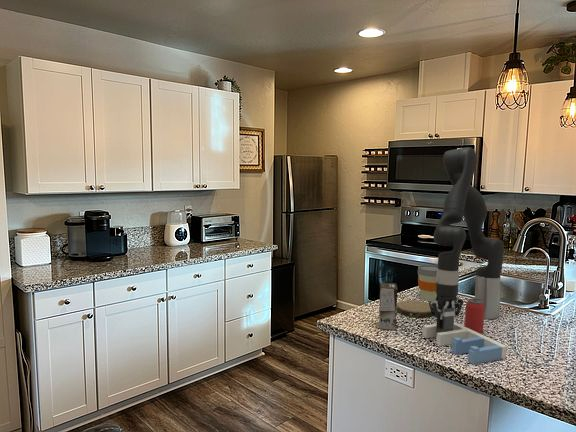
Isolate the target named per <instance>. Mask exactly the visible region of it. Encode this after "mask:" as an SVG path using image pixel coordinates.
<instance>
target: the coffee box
mask: <svg viewBox="0 0 576 432" xmlns="http://www.w3.org/2000/svg"><path fill="white" fill-rule="evenodd" d="M379 284H380V285H379V310H378V311H379V314H378V315H379V316H378V319H379V320H378V327H379V329H381V330H391V331H396V330H397V329H396V328H397V313H398V312H397V303H398V285H397V283H393V282H379Z"/></svg>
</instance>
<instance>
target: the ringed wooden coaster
mask: <svg viewBox="0 0 576 432" xmlns="http://www.w3.org/2000/svg"><path fill="white" fill-rule="evenodd" d="M396 313H398V314H400V315H401V316H405V317H406V318H407V317H408V318H412V317H414V318H413V319H428V318H434V317H433V316H432V314H431V310H430V306H429V302H427V301H421V300H412V299H411V300H410V299H409V300H407V299H406V300H401V301H397V312H396Z"/></svg>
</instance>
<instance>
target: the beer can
mask: <svg viewBox="0 0 576 432" xmlns="http://www.w3.org/2000/svg"><path fill="white" fill-rule="evenodd" d="M484 309H485V307H484V303H483V301H482V300H480V299H475V298H474V297H473V298H468V299H467V301H466V304H465V312H464V327H466V328H469V329H471V330H473V331H475V332H477V333H479V334H482V333H483V332H484V322H485V319H484Z"/></svg>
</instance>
